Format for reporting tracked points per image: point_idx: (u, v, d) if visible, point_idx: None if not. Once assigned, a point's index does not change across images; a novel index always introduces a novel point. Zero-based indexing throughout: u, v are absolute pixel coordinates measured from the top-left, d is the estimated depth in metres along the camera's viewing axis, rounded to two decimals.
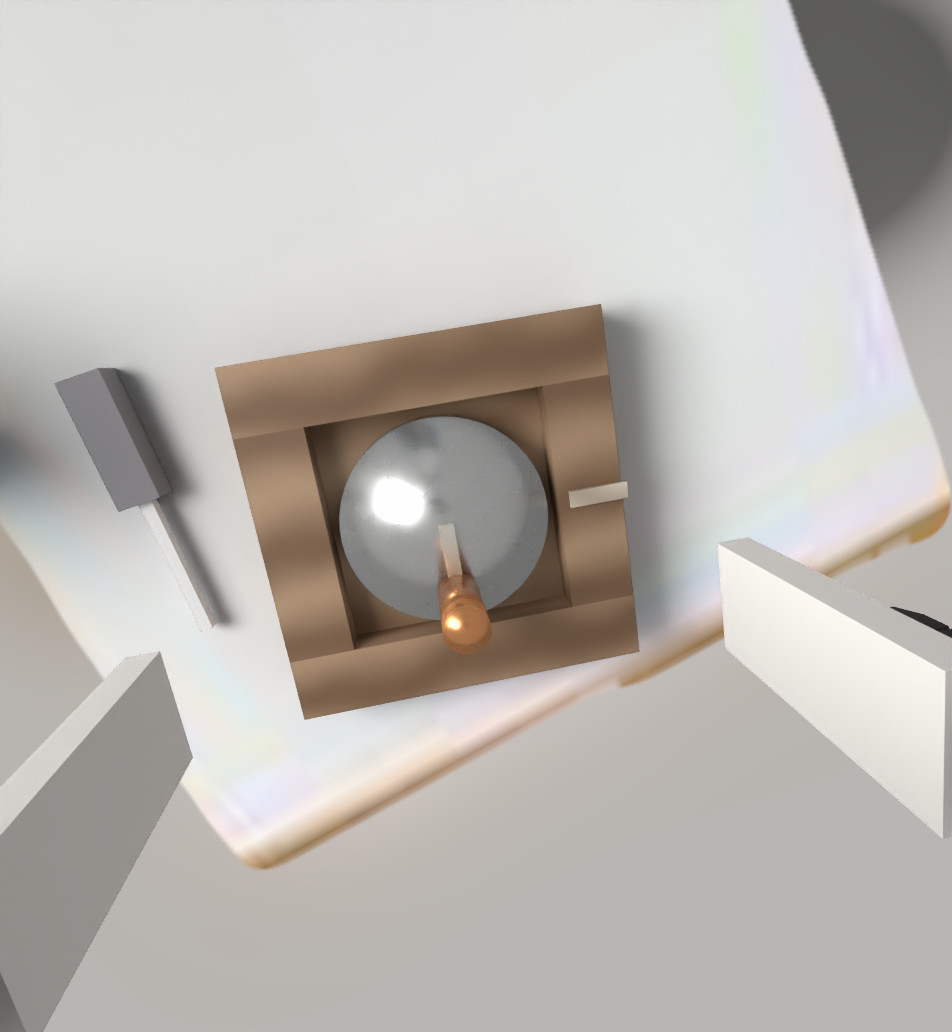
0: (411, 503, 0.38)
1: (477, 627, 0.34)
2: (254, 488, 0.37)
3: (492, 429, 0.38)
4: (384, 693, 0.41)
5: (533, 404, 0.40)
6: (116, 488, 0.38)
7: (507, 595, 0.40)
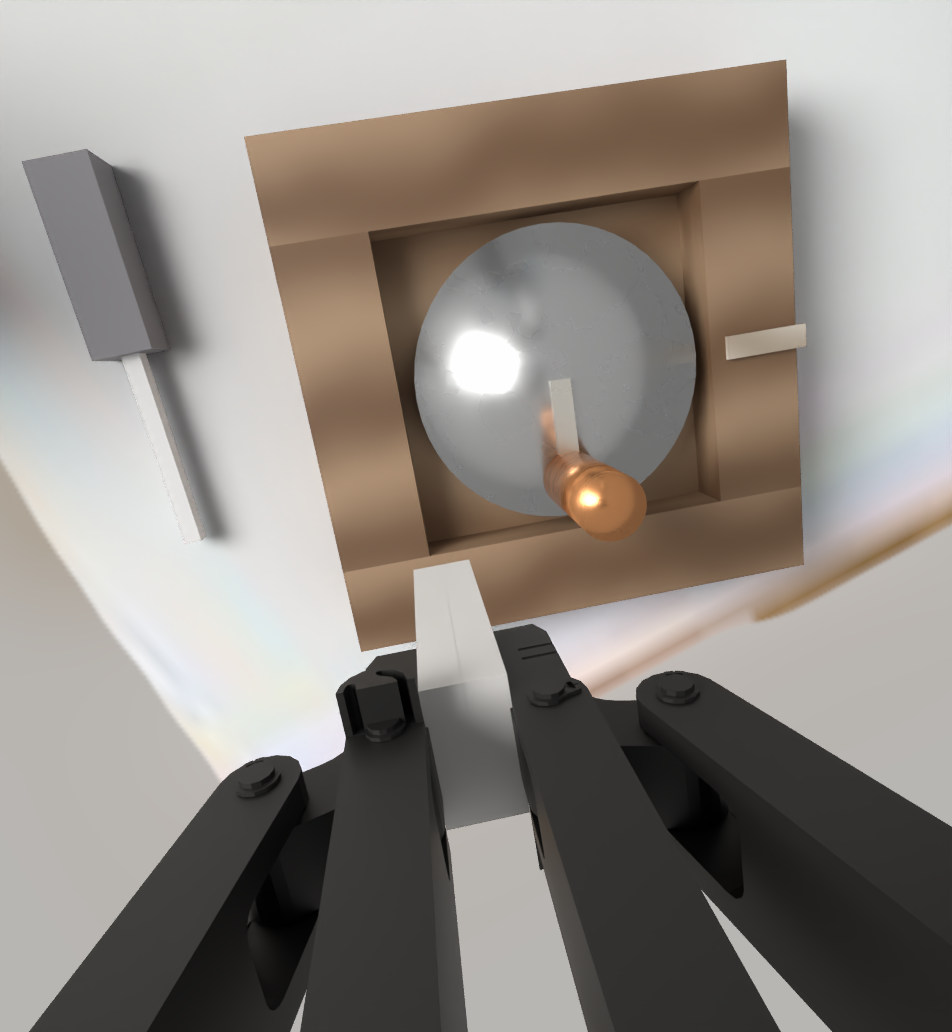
0: (513, 348, 0.28)
1: (627, 501, 0.23)
2: (299, 320, 0.26)
3: (627, 243, 0.27)
4: None
5: (673, 222, 0.29)
6: (92, 327, 0.27)
7: None
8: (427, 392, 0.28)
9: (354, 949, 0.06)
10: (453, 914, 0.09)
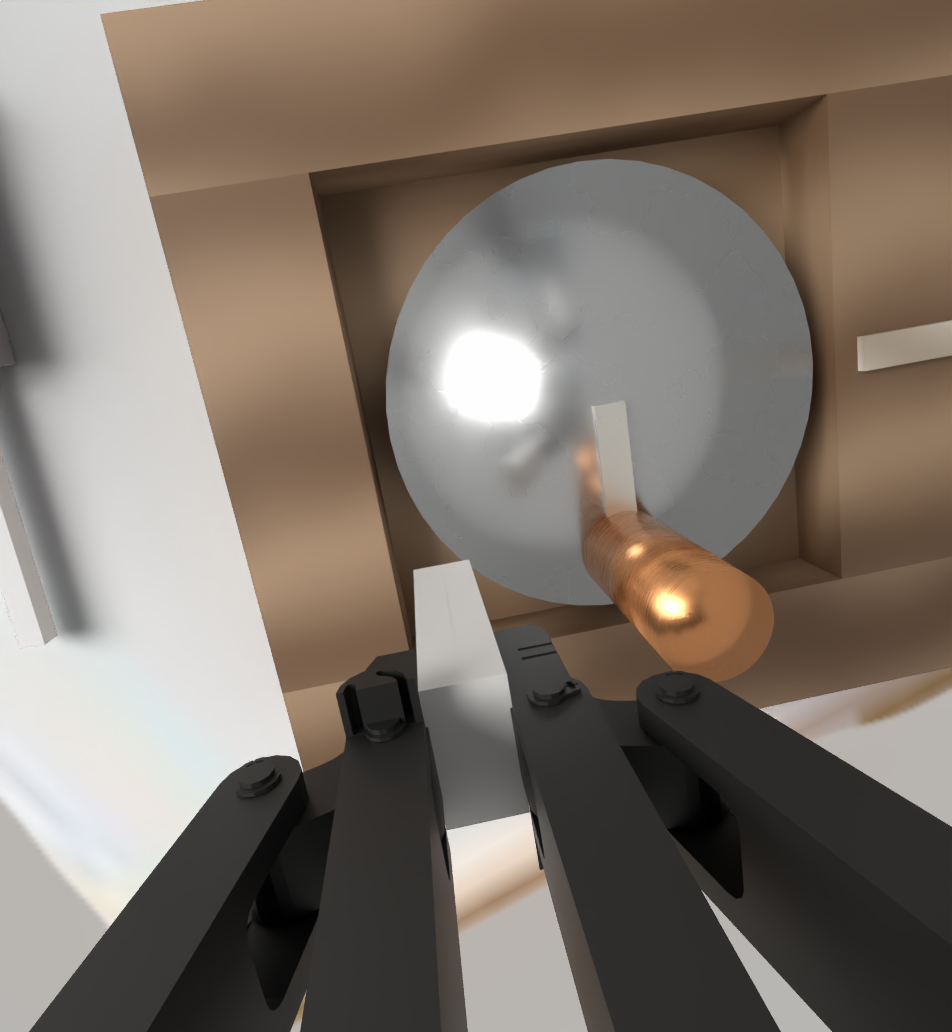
0: (537, 357, 0.18)
1: (742, 616, 0.14)
2: (202, 314, 0.17)
3: (714, 193, 0.17)
4: None
5: (772, 168, 0.20)
6: None
7: (719, 555, 0.20)
8: (406, 424, 0.18)
9: (354, 949, 0.06)
10: (453, 914, 0.09)
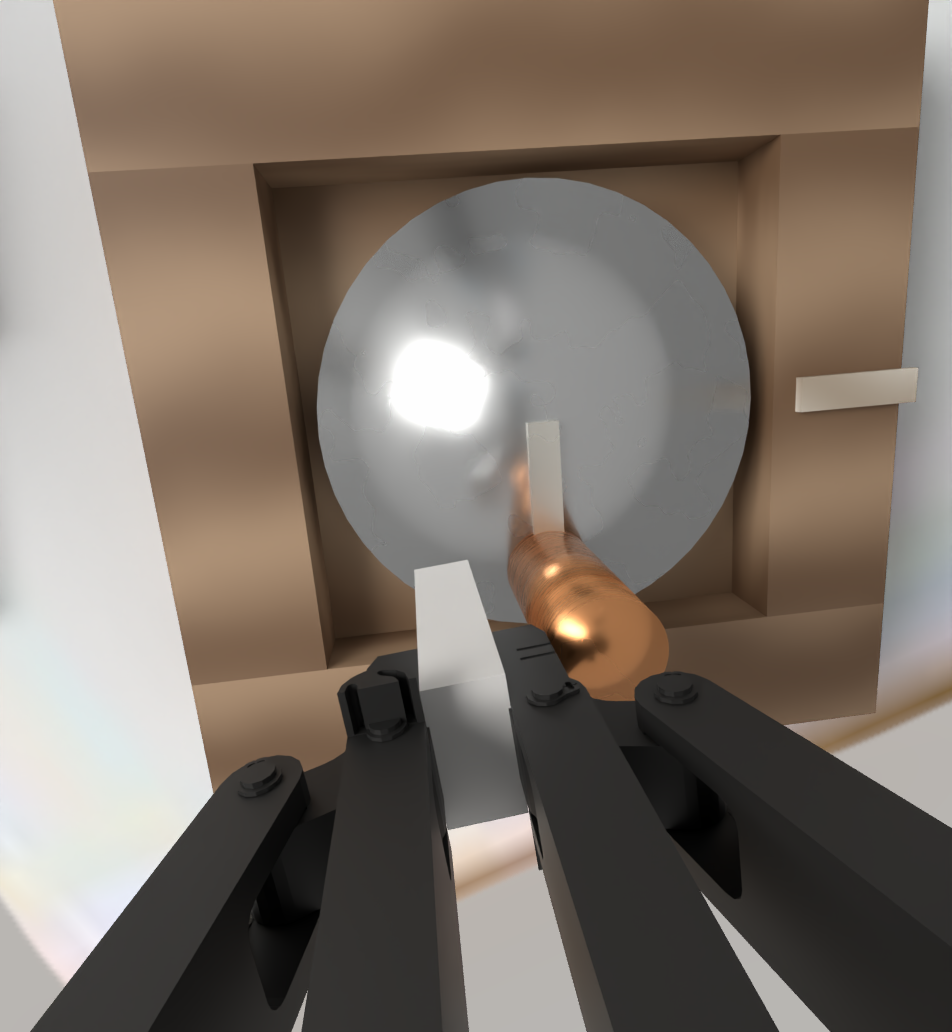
0: (474, 369, 0.18)
1: (636, 647, 0.14)
2: (134, 295, 0.17)
3: (662, 221, 0.17)
4: None
5: (729, 203, 0.20)
6: None
7: (645, 583, 0.20)
8: (336, 425, 0.18)
9: (355, 948, 0.06)
10: (454, 913, 0.09)
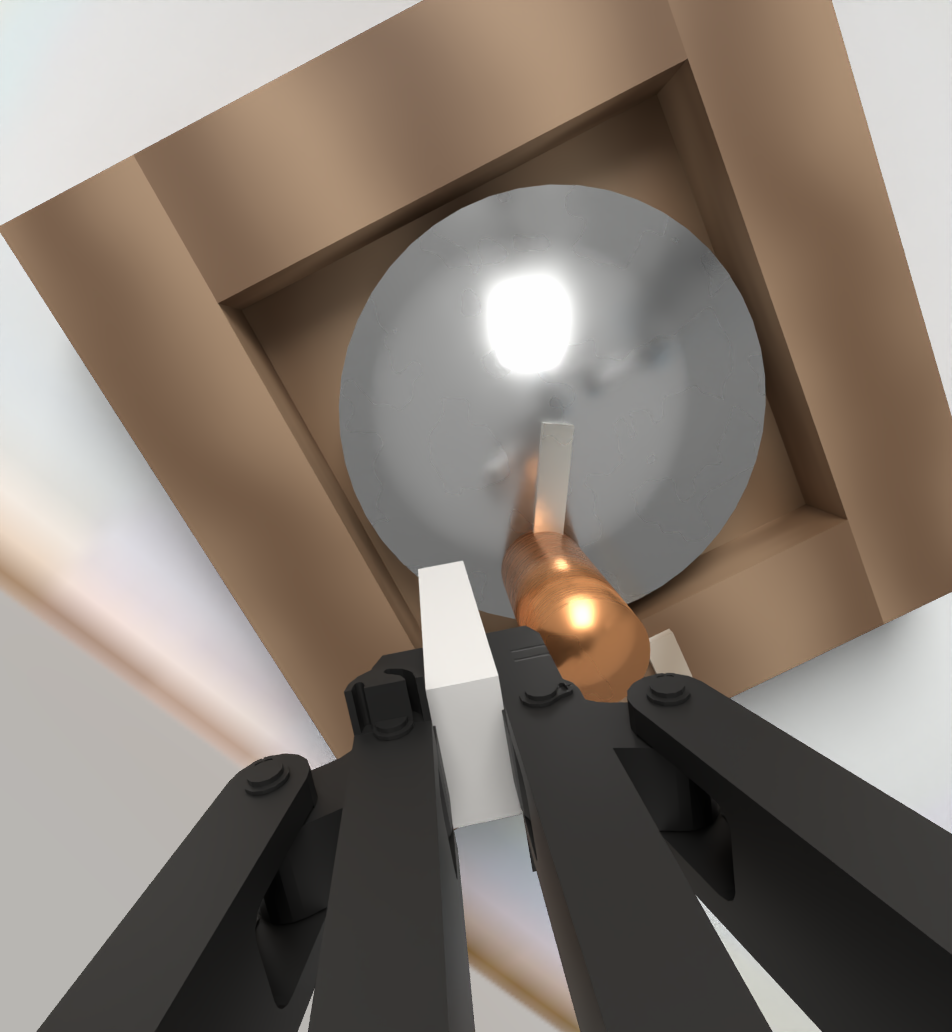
0: (500, 362, 0.18)
1: (619, 651, 0.14)
2: None
3: (703, 248, 0.18)
4: (136, 400, 0.18)
5: (772, 512, 0.22)
6: None
7: (634, 596, 0.20)
8: (357, 396, 0.18)
9: (362, 947, 0.06)
10: (461, 913, 0.09)
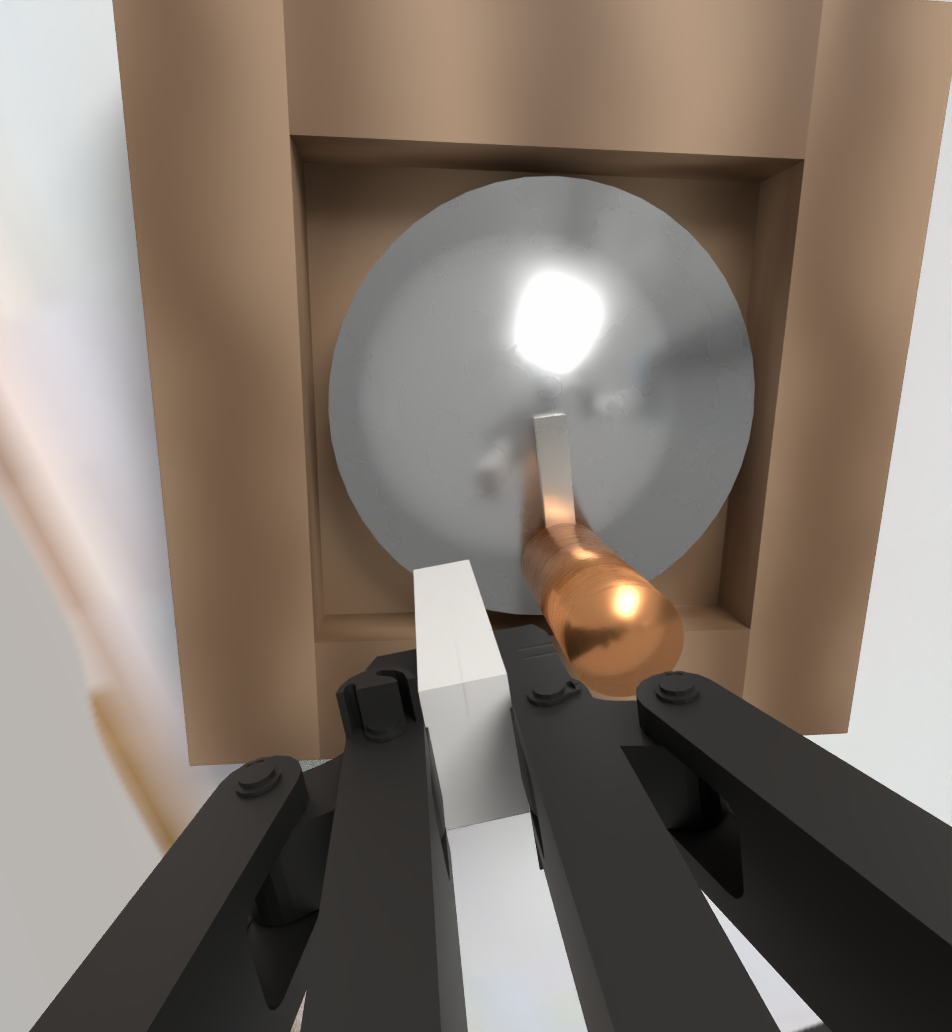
0: (481, 367, 0.18)
1: (652, 633, 0.14)
2: (715, 8, 0.17)
3: (661, 214, 0.18)
4: (158, 182, 0.16)
5: (687, 598, 0.23)
6: None
7: (657, 571, 0.20)
8: (348, 428, 0.18)
9: (354, 949, 0.06)
10: (453, 914, 0.09)
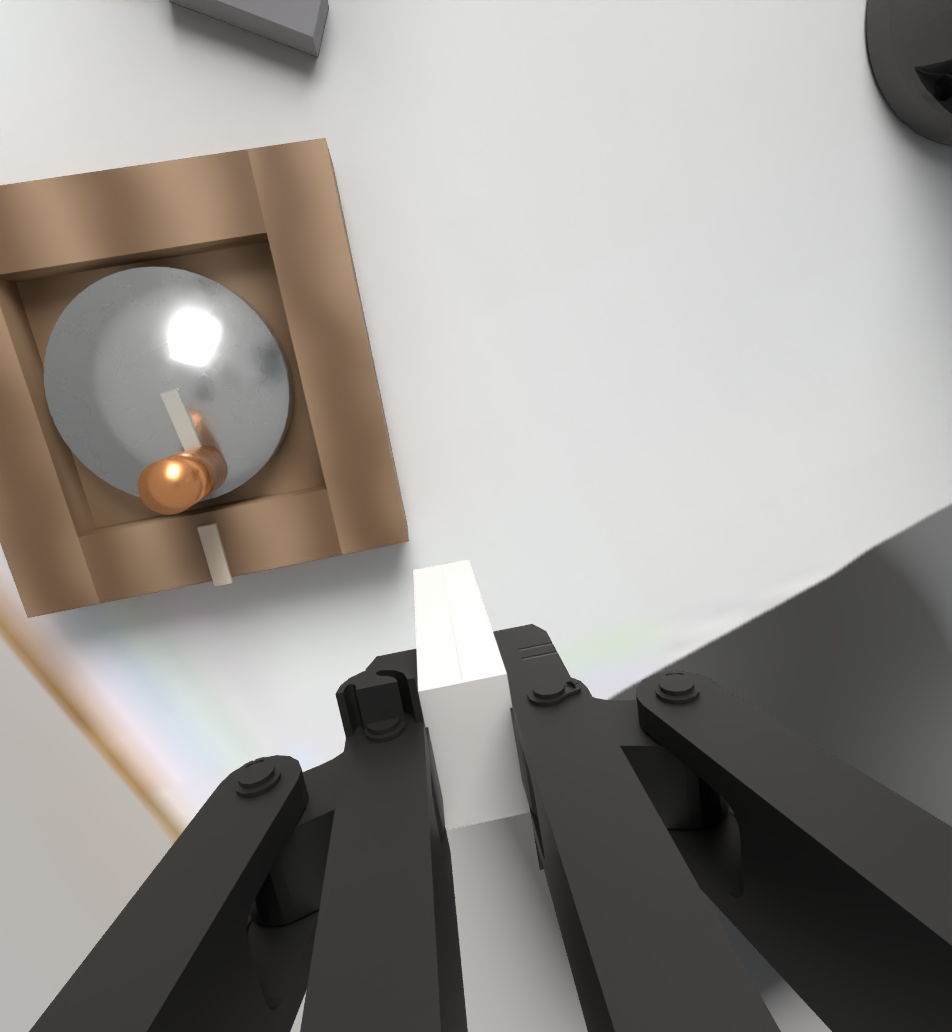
0: (125, 372, 0.34)
1: (178, 481, 0.30)
2: (191, 169, 0.33)
3: (197, 275, 0.34)
4: None
5: (310, 482, 0.39)
6: None
7: (260, 465, 0.36)
8: (62, 417, 0.34)
9: (354, 949, 0.06)
10: (453, 914, 0.09)
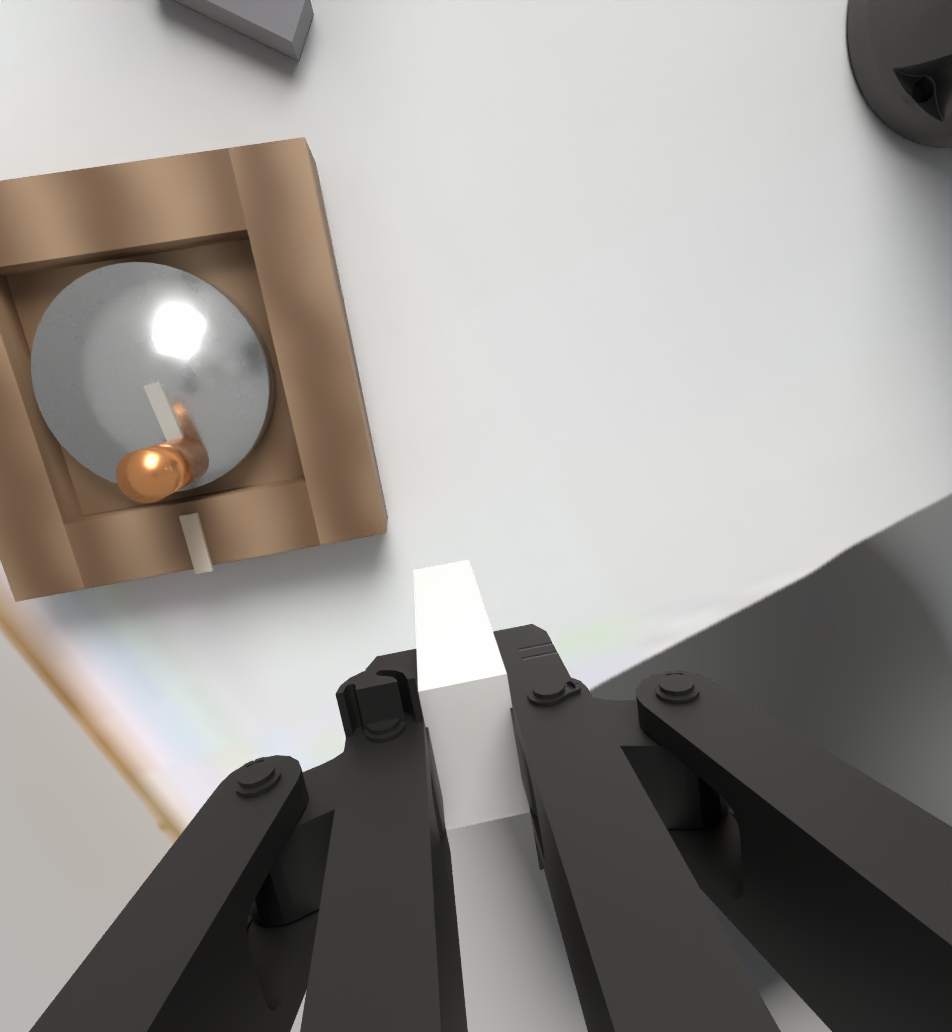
0: (109, 365, 0.35)
1: (155, 470, 0.31)
2: (174, 167, 0.33)
3: (180, 271, 0.35)
4: None
5: (291, 474, 0.40)
6: None
7: (240, 456, 0.37)
8: (49, 408, 0.35)
9: (354, 949, 0.06)
10: (453, 914, 0.09)
